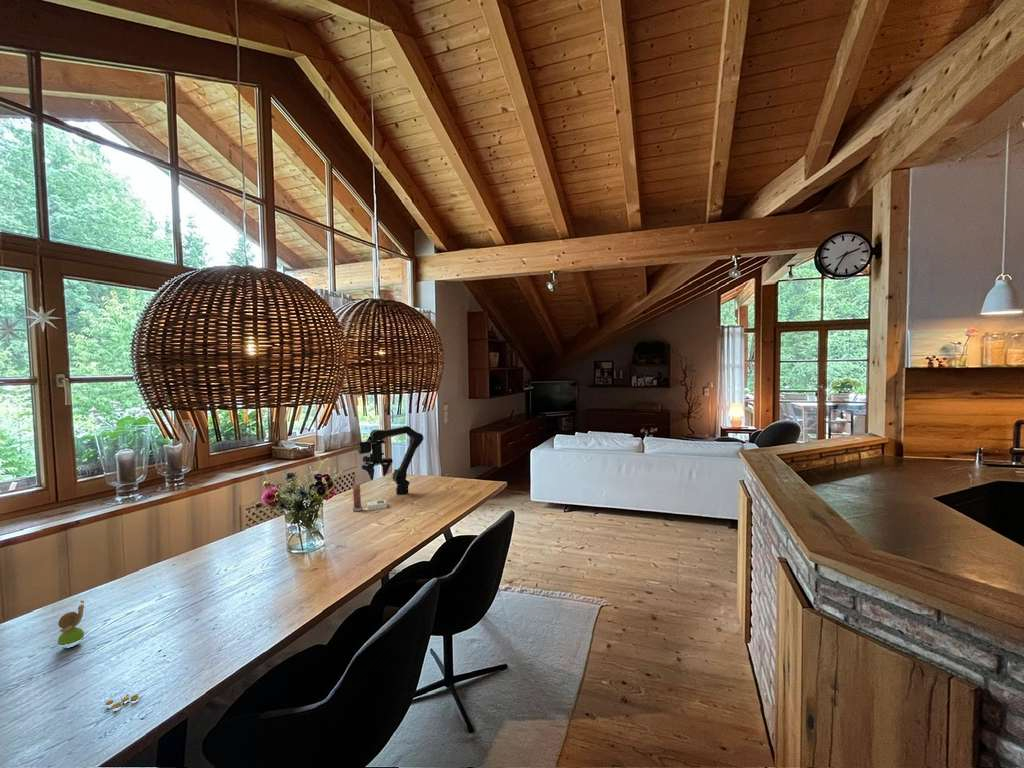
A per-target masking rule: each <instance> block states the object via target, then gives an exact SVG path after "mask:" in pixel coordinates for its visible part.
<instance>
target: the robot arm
mask: <svg viewBox="0 0 1024 768" xmlns="http://www.w3.org/2000/svg"><path fill="white" fill-rule="evenodd" d="M402 434H406V435H407V436H408V437H410V438H409V443H408V448H407V449H406V452H405V454H404V457H403V459H402V461H401V463H400V466H399V467H398V468H397V469H396V468H395V469H394V471H393V473H392V481H393V482H394V483H395V485H396V487H395V493H396V494H395V495H397V496H399V495H400V496H401V495H403V496H404V495H407V494H409V486H410V484H411V483H410V482H409V481H408V479H407V472H408V468H409V466H410V464H411V462H412V459H413V457H414V455H415V453H416V451H417V448H418V447H420V445H421V444H422V442H423V441H424V435H423V434H422V433H420V432H417V431H415V430H414V429H412V428H411V427H410V426H408V425H404V426H399V427H395V428H394V427H393V428H389V429H372V430H371V432H370V433H369V436H368V438H367V439H366V441H358V445H357V453H358V455H363V454H369V456H367V455H366V456H362V462H363V463H362V465H361V469H362V470H364V471H366V472H367V473H368V475H369V478H370V481H374V476H375V466H379V465H381V467H382V476H383V477H386V475H387V472H388V470H389V469H390V466H391V465H392V464H393V458H391V457H383V455H385V453H384V452H383V444H386V442H385V440H384V439H386V438H389V437H392V436H397V435H402Z"/></svg>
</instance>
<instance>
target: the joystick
mask: <svg viewBox="0 0 1024 768" xmlns="http://www.w3.org/2000/svg"><path fill="white" fill-rule="evenodd" d="M352 496H353V497H352V498H353V507H352V511H353V513H354V512H355V513H358V512H361V511H364V510H363V509H364V508H363V506H362V499H361V498H362V497H361V484H353V485H352Z"/></svg>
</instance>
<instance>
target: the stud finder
mask: <svg viewBox="0 0 1024 768" xmlns="http://www.w3.org/2000/svg"><path fill="white" fill-rule="evenodd" d="M385 508H386V509H387V508H388V503H387V500H386V499H382V500H375V501H369V502H366V509H367V511H375V510H381V509H385Z"/></svg>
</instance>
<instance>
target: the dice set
mask: <svg viewBox="0 0 1024 768" xmlns="http://www.w3.org/2000/svg"><path fill="white" fill-rule="evenodd" d="M138 697H139V694H138V693H135V694H134V695H133V694H132V696H130V698H129V695H128V696H126V697H124V698H123V697H122V698H123V700H122V703H123V702H125V701H127V700H130V702H131V701H136V700H137V699H138ZM113 702H114V700H113V699H109V700H107V701H106V702H104V703H105V704H104V706H105V705H110V704H112V703H113ZM122 703H121V702H118V703H114V705H113V707H112V709H113V708H118V707H120V706H121V707H122Z"/></svg>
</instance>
